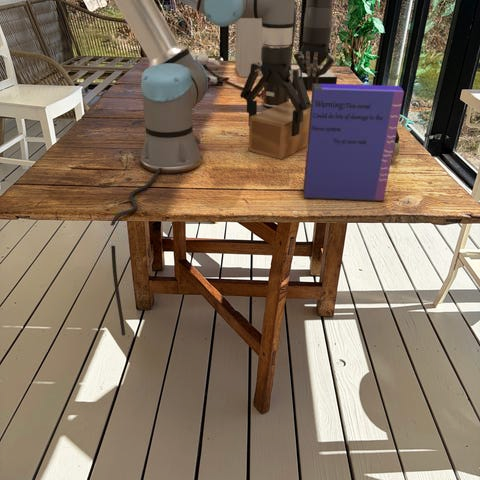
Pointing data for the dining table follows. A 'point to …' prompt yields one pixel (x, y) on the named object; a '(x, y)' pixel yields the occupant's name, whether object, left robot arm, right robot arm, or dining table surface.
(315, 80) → the right robot arm
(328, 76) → the disc drive
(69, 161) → the dining table surface
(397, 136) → the figurine character
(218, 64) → the toy
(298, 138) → the brown rectangular block
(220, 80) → the figurine
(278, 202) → the dining table surface
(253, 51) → the tall white box
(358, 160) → the purple hardcover book
